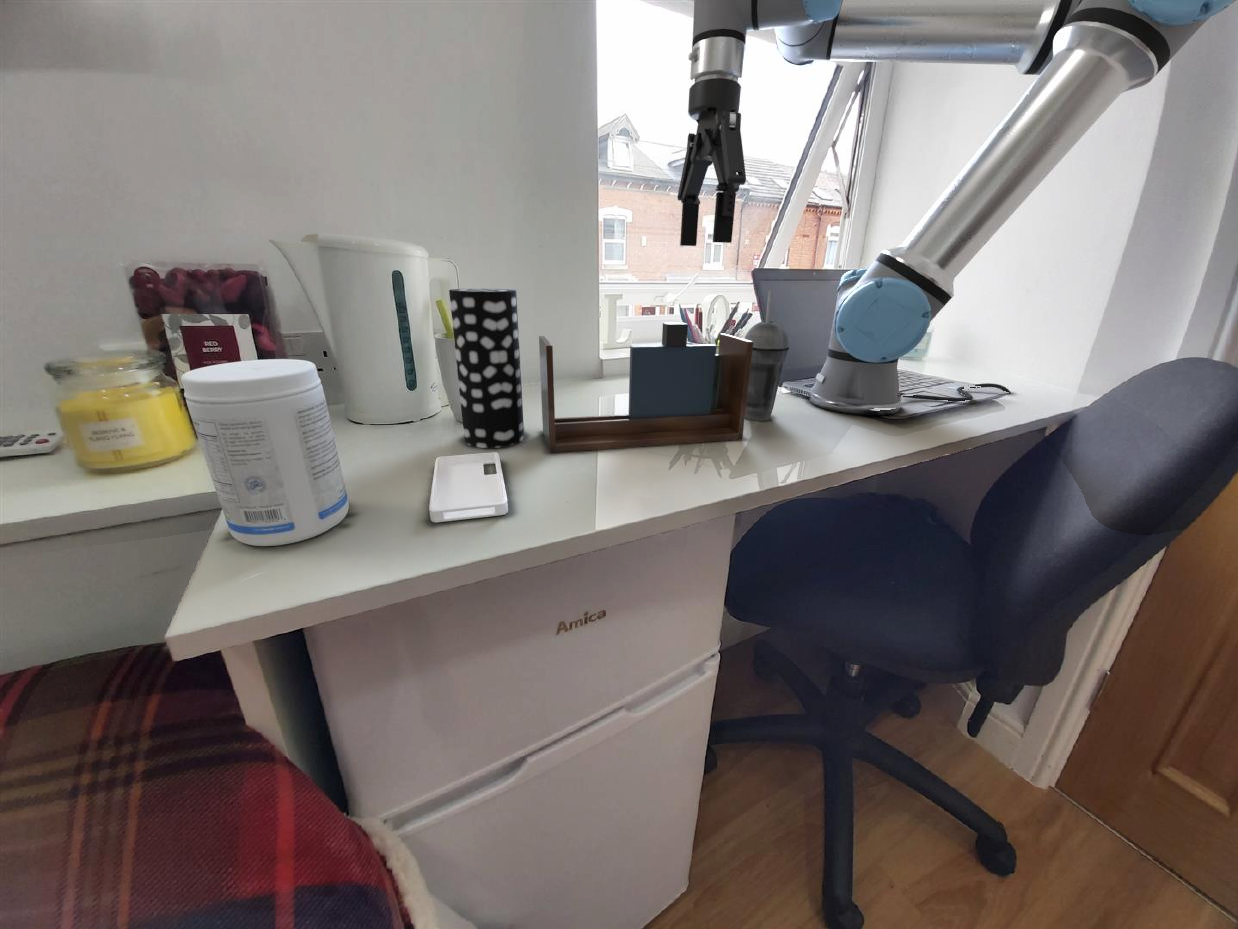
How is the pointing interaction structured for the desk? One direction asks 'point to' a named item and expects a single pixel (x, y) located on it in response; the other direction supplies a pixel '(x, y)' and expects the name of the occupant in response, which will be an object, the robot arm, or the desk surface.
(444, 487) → the phone case
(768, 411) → the beverage cup
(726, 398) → the wooden desk organizer
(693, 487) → the desk surface
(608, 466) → the desk surface
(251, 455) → the supplement tub
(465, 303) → the white-spotted black cylinder
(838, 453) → the desk surface
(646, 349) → the book
